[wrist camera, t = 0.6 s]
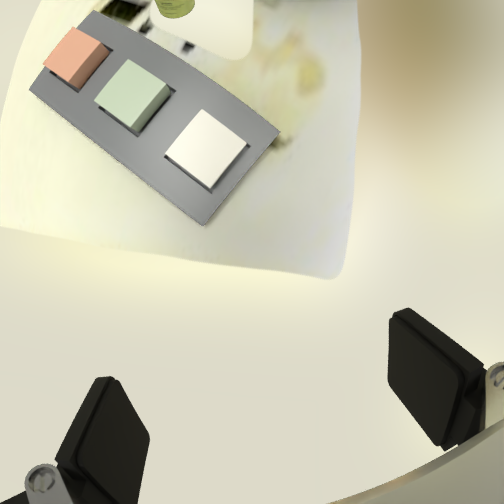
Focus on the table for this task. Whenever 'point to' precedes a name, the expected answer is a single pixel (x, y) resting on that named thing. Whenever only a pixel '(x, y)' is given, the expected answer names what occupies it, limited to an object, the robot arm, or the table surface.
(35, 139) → the table surface
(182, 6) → the tube
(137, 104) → the sage button
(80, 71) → the terracotta button
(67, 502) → the robot arm
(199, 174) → the offwhite button
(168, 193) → the panel
